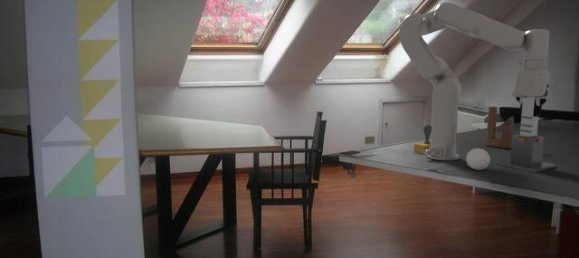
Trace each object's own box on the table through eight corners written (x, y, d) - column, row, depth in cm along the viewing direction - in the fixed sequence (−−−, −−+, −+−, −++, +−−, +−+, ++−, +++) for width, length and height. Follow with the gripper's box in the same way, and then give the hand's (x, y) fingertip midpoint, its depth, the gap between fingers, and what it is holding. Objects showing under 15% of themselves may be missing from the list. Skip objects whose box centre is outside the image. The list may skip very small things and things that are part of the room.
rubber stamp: (424, 154, 175) (425, 126, 173) (413, 152, 180) (414, 124, 178) (439, 151, 180) (441, 124, 178) (428, 149, 185) (429, 122, 183)
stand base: (535, 172, 145) (538, 141, 143) (496, 164, 157) (499, 135, 155) (555, 166, 153) (558, 137, 151) (516, 159, 164) (519, 132, 163)
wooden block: (508, 148, 185) (512, 108, 183) (484, 145, 193) (486, 106, 190) (511, 147, 188) (515, 107, 185) (487, 144, 196) (490, 106, 193)
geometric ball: (477, 175, 152) (486, 156, 153) (488, 173, 144) (498, 153, 146) (458, 164, 153) (468, 146, 154) (468, 161, 145) (478, 142, 146)
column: (529, 148, 151) (533, 98, 148) (518, 146, 154) (522, 97, 151) (536, 146, 153) (540, 97, 150) (525, 145, 156) (529, 97, 154)
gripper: (505, 64, 154) (501, 114, 157) (554, 65, 140) (549, 119, 143) (516, 64, 158) (512, 113, 161) (565, 64, 144) (559, 117, 147)
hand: (530, 115), depth 152 cm, fingers closed on column, 4 cm apart
